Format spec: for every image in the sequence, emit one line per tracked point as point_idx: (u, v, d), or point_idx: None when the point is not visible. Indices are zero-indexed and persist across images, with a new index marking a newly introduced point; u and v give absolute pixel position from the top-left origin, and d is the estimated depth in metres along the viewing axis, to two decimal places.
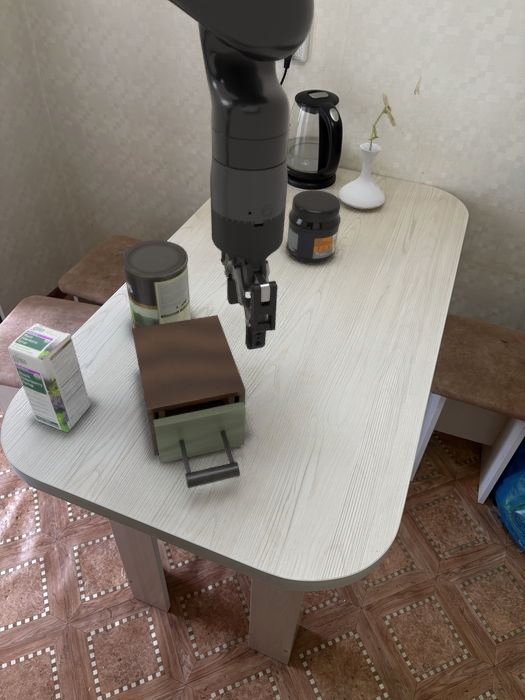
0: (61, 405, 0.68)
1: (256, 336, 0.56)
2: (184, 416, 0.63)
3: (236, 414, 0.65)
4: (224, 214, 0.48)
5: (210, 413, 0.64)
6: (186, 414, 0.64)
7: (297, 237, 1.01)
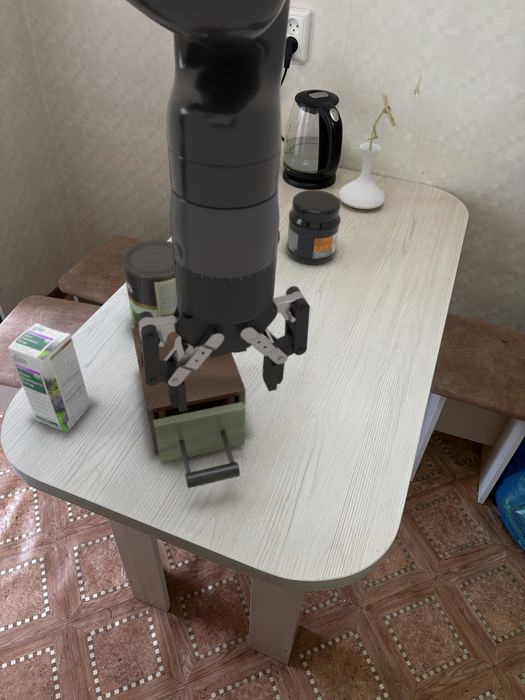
0: (61, 405, 0.68)
1: (167, 385, 0.44)
2: (184, 416, 0.63)
3: (236, 414, 0.65)
4: None
5: (210, 413, 0.64)
6: (186, 414, 0.64)
7: (297, 237, 1.01)
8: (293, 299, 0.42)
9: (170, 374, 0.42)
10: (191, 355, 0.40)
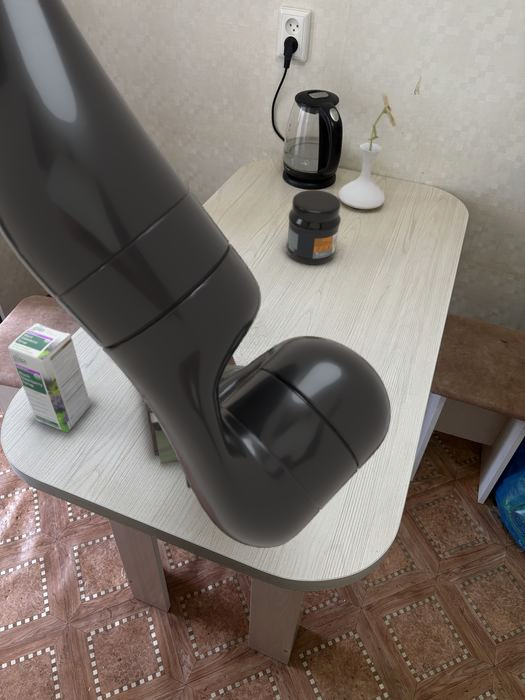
0: (61, 405, 0.68)
1: None
2: None
3: None
4: None
5: None
6: None
7: (297, 237, 1.01)
8: None
9: None
10: None
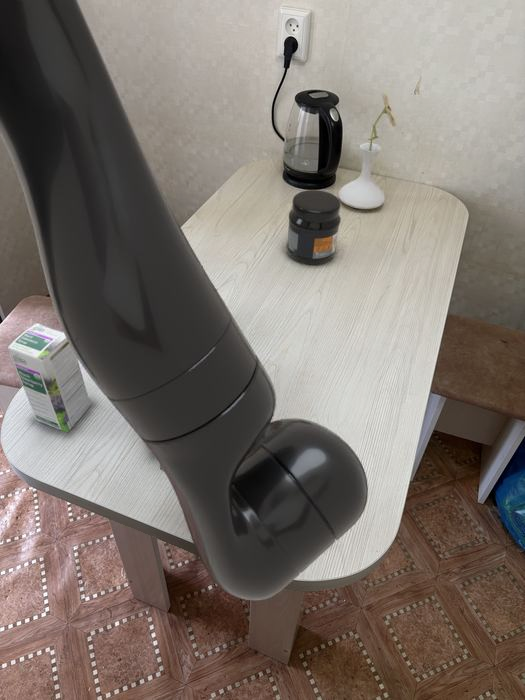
0: (61, 405, 0.68)
1: None
2: None
3: None
4: None
5: None
6: None
7: (297, 237, 1.01)
8: None
9: None
10: None
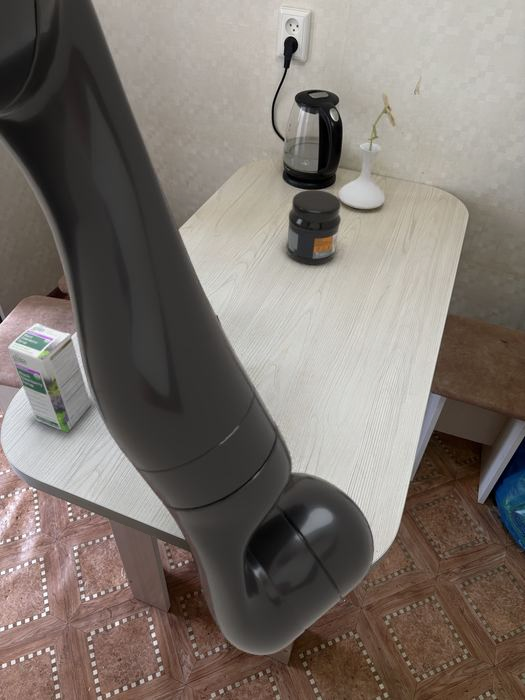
0: (61, 405, 0.68)
1: None
2: None
3: None
4: None
5: None
6: None
7: (297, 237, 1.01)
8: None
9: None
10: None
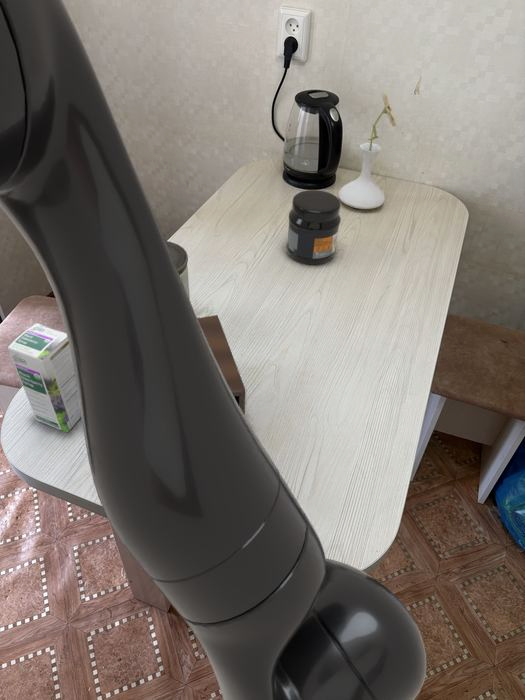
0: (61, 405, 0.68)
1: None
2: None
3: None
4: None
5: None
6: None
7: (297, 237, 1.01)
8: None
9: None
10: None
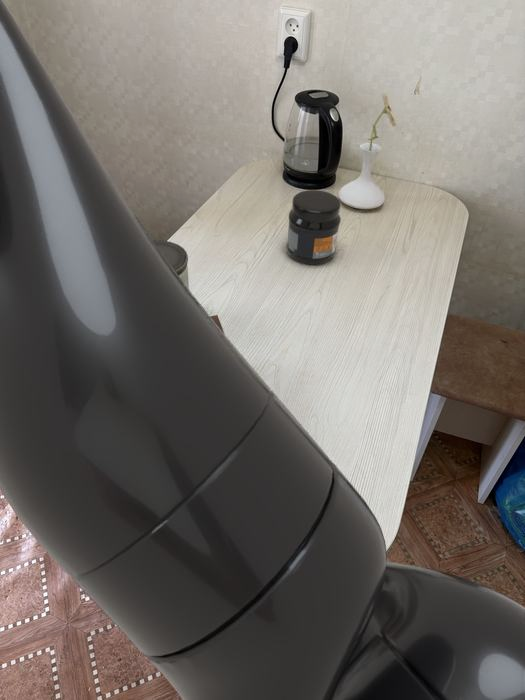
0: None
1: None
2: None
3: None
4: None
5: None
6: None
7: (297, 237, 1.01)
8: None
9: None
10: None
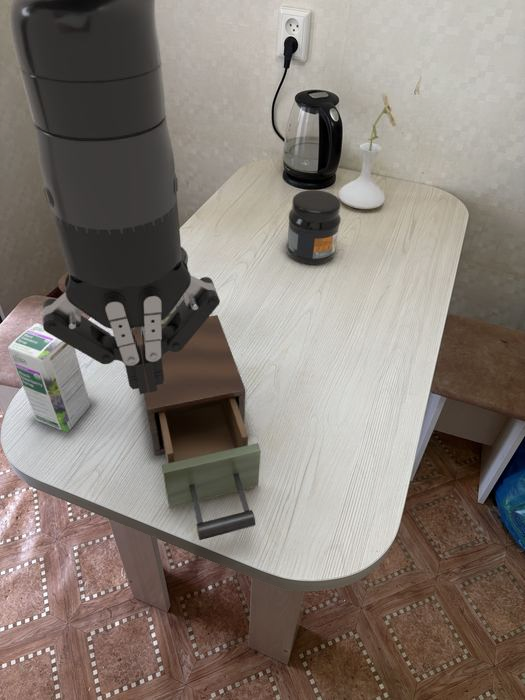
0: (61, 405, 0.68)
1: None
2: (195, 460, 0.59)
3: (251, 456, 0.60)
4: None
5: (223, 457, 0.59)
6: (197, 458, 0.59)
7: (297, 237, 1.01)
8: (207, 288, 0.37)
9: (122, 356, 0.38)
10: None
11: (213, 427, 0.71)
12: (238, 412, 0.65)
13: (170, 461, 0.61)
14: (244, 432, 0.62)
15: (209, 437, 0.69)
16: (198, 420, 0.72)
